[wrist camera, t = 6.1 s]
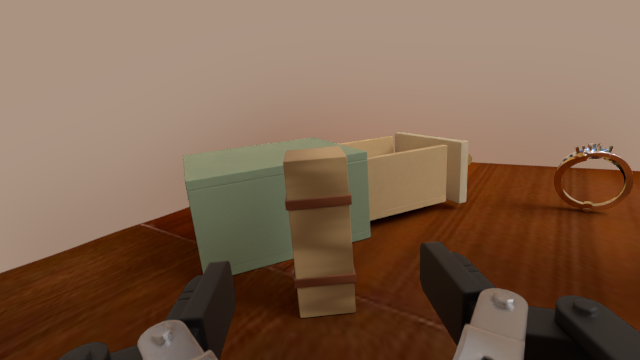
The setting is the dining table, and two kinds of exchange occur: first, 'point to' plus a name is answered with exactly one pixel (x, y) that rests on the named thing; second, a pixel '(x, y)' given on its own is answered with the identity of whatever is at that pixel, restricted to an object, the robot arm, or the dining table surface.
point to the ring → (594, 153)
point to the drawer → (414, 172)
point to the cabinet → (257, 202)
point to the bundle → (320, 230)
